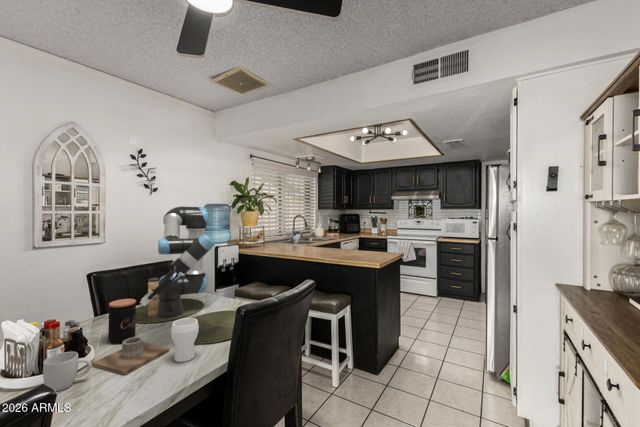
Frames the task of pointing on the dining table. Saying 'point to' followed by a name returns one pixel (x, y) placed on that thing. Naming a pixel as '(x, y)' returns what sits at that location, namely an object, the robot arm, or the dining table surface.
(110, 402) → the dining table surface
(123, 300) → the coffee jar
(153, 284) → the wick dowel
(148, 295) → the robot arm
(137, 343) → the base
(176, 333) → the cup
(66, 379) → the mug
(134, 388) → the dining table surface
